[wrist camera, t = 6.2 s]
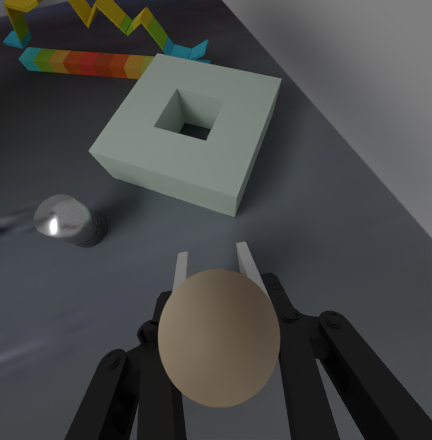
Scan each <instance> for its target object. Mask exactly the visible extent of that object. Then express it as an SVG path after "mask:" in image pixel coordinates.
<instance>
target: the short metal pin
mask: <svg viewBox="0 0 432 440" xmlns="http://www.w3.org/2000/svg"><path fill="white" fill-rule="evenodd" d="M34 225H35V227H36V229H37V230H38V231H39V232H40V233H42V234H45V235H48V236H51V237H54V238H57V239H60V240H62V241H65V242H68V243H71V244H74V245H77V246H80V247H84V248H88V247H92V246H95V245H97V244H98V243H99V242H101V241H102V239H103V238H104V237H105V235H106V232H107V222H106V220H105V219H104V218H103V217H102V216H100V215H99V214H97V213H96V212H94V211H93V210H91V209H90V208H88V207H87V206H85V205H83V204H82V203H80V202H79V201H77V200H76V199H74V198H73V197H71V196H69V195H65V194H59V195H55V196H52V197H50V198H48V199H47V200H45V201H44V202H43V203H42V204H41V205H40V206H39V207H38V209H37V211H36V213H35V216H34Z"/></svg>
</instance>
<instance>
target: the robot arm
mask: <svg viewBox="0 0 432 440" xmlns="http://www.w3.org/2000/svg"><path fill="white" fill-rule="evenodd" d="M236 246H237V254H238V262H239V270H240V273H241V274H242V275H245V276H246V277H248V278H249V279H251V280H252V281H254V282H255V283H256V284H257V285H258V286H259V287H260V288H261V289H262V290H263V291H264V293H265V294H266V295H267V296H268V298H269V300H270V301H271V303H272V305H273V307H274V310H275V312H276V315H277V318H278V323H279V328H280V350H279V356H278V358H279V363H280V369H281V376H282V382H283V389H284V395H285V402H286V408H287V415H288V421H289V427H290V434H291V440H340V438H339V435H338V431H337V428H336V425H335V422H334V418H333V415H332V412H331V409H330V405H329V402H328V399H327V396H326V392H325V389H324V386H323V383H322V379H321V376H320V373H319V370H318V366H317V363H316V360H315V358H316V359H319V360H320V362H321V364H322V365H323V367H324V369H325V371H326V372H327V374H328V376H329V378H330V379H331V381H332V383H333V385H334V386H335V388H336V390H337V392H338V393H339V395H340V397H341V399H342V400H343V402H344V404H345V406H346V407H347V409H348V411H349V413H350V414H351V416H352V418H353V420H354V421H355V423H356V425H357V427H358V428H359V430H360V432H361V434H362V436H363V437H364V439H365V440H432V420H431V419H430V418H429V417H428V415H427V414H426V413H425V412H424V411H423V409H422V408H421V407H420V406H419V405H418V403H417V402H416V401H415V400H414V399H413V397H412V396H411V395H410V394H409V393H408V392H407V390H406V389H405V388H404V387H403V386H402V384H401V383H400V382H399V381H398V380H397V378H396V377H395V376H394V375H393V374H392V372H391V371H390V370H389V369H388V368H387V367H386V365H385V364H384V363H383V362H382V361H381V359H380V358H379V357H378V356H377V355H376V353H375V352H374V351H373V350H372V349H371V347H370V346H369V345H368V344H367V343H366V342H365V340H364V339H363V338H362V337H361V336H360V334H359V333H358V332H357V331H356V330H355V328H354V327H353V326H352V325H351V324H350V322H349V321H348V320H347V319H346V318H345V317H344V316H343V315H341V314H339V313H337V312H334V311H325V312H322V313H321V314H320V316H319V317H315V316H307V315H304V314H301V313H300V312H299V311H297V310H296V309H294V307H293V306H292V304H291V302H290V300H289V298H288V296H287V295H286V293H285V291H284V289H283V287H282V285H281V284H280V282H279V280H278V278H277V277H276V276H275V275H274V274H272V273H268V274H262V275H260V274H259V272H258V270H257V267H256V265H255V263H254V260H253V258H252V256H251V253H250V251H249V249H248V246H247V244H246V242H240V243H236ZM191 276H193V271H192V267H191V263H190V259H189V255H188V252H182V253H178V259H177V265H176V272H175V278H174V285H173V291H168V292H162V293H161V294H160V296H159V297H158V299H157V303H156V307H155V312H154V315H153V320H149V321H147V322H145V323H144V324H143V325H142V326H141V327H140V328H139V330H138V333H137V336H138V339H139V341H140V343H141V345H139V346H138V347H136V348H134V349H132V350H130V351H128V352H126V353H125V351H124V350H122V349H116V350H112V351H111V352H109V353H108V354H106V355H105V356H104V357H103V358H102V360H101V362H100V363H99V365H98V367H97V369H96V372H95V374H94V376H93V378H92V380H91V383H90V385H89V387H88V389H87V391H86V394H85V396H84V398H83V400H82V402H81V405H80V407H79V409H78V411H77V413H76V415H75V418H74V420H73V422H72V424H71V426H70V429H69V431H68V433H67V435H66V437H65V440H129V438H130V434H131V430H132V426H133V422H134V418H135V414H136V410H137V406H138V402H139V409H138V429H137V440H187V439H186V430H185V421H184V412H183V403H182V394H181V392H180V391H179V389H178V388H177V387H176V386H175V385H174V384H173V382H172V381H171V379H170V378H169V377H168V375H167V373H166V371H165V369H164V366H163V363H162V361H161V357H160V353H159V346H158V329H159V322H160V318H161V314H162V312H163V309H164V306H165V304H166V302H167V300H168V299H169V297H170V296H171V294H172V293H173V292H174V290H175V289H176V288H177V287H178V286H179V285H180V284H181V283H182V282H183V281H185V280H186V279H188V278H189V277H191Z"/></svg>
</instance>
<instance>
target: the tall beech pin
mask: <svg viewBox="0 0 432 440" xmlns="http://www.w3.org/2000/svg"><path fill="white" fill-rule="evenodd" d="M158 346H159V353H160V357H161V361H162V363H163V366H164V369H165V371H166V373H167V375H168V377H169V378H170V379H171V381H172V382H173V384H174V385H175V386H176V387H177V388H178V389H179V391H180V392H182V393H183V394H184V395H185V396H187V397H188V398H190V399H191V400H193V401H195V402H197V403H199V404H202V405H205V406H210V407H219V408H222V407H231V406H234V405H238V404H240V403H242V402H245V401H247V400H248V399H250V398H251V397H253V396H254V395H255V394H257V393H258V392H259V391H260V390H261V389H262V388H263V386H264V385H265V384H266V383H267V381H268V380H269V378H270V376H271V375H272V373H273V370H274V368H275V366H276V363H277V359H278V356H279V350H280V328H279V323H278V318H277V315H276V312H275V310H274V307H273V305H272V303H271V301H270V300H269V298H268V296H267V295H266V294H265V293H264V291H263V290H262V289H261V288H260V287H259V286H258V285H257V284H256V283H255V282H254V281H252V280H251V279H249V278H248V277H246V276H245V275H242V274H240V273H238V272H235V271H231V270H226V269H211V270H206V271H202V272H199V273H197V274H195V275H193V276H191V277H189V278H188V279H186V280H185V281H183V282H182V283H181V284H180V285H179V286H178V287H177V288H176V289H175V290H174V292H173V293H172V294H171V296H170V297H169V299H168V300H167V302H166V304H165V306H164V309H163V312H162V314H161V318H160V322H159V329H158Z"/></svg>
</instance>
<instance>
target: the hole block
mask: <svg viewBox="0 0 432 440" xmlns="http://www.w3.org/2000/svg"><path fill="white" fill-rule="evenodd" d="M281 80H282V79H281V78H276V77H271V76H266V75H261V74H257V73H252V72H247V71H242V70H237V69H232V68H227V67H222V66H217V65H212V64H208V63H203V62H198V61H193V60H188V59H183V58H178V57H173V56H168V55H164V54H159V53H157V55H156V56H155V57H154V59H153V60H152V62H151V63H150V64H149V66H148V67H147V69H146V70H145V72H144V73H143V74H142V76H141V77H140V79H139V80H138V81H137V83H136V84H135V86H134V87H133V89H132V90H131V91H130V93H129V94H128V96H127V97H126V99H125V100H124V101H123V103H122V104H121V106H120V107H119V108H118V110H117V111H116V113H115V114H114V116H113V117H112V118H111V120H110V121H109V123H108V124H107V125H106V127H105V128H104V130H103V131H102V133H101V134H100V135H99V137H98V138H97V140H96V141H95V142H94V144H93V145H92V147H91V148H90V150H89V152H90V153H91V154H92V155H93V156H94V157H95V158H96V160H97V161H98V162H99V163H100V164H101V165H102V166H103V167H104V168H105V169H106V170H107V171H108V172H109V173H110V174H111V175H112V177H113V178H116V179H119V180H122V181H125V182H128V183H131V184H134V185H138V186H141V187H144V188H147V189H150V190H153V191H156V192H159V193H162V194H165V195H168V196H171V197H174V198H177V199H180V200H183V201H186V202H189V203H192V204H195V205H198V206H201V207H204V208H207V209H210V210H213V211H217V212H220V213H223V214H226V215H229V216H232V217H235V216H236V213H237V210H238V207H239V205H240V202H241V199H242V197H243V194H244V191H245V188H246V186H247V183H248V180H249V178H250V175H251V172H252V169H253V167H254V164H255V161H256V159H257V156H258V153H259V150H260V148H261V145H262V142H263V139H264V137H265V134H266V131H267V129H268V126H269V123H270V120H271V118H272V115H273V111H274V107H275V103H276V99H277V95H278V92H279V88H280V84H281ZM184 123H188V124H192V125H196V126H199V127H203V128H207V129H211V131H210V133H209V135H208V138H207V140H206V141H204V140H201V139H197V138H193V137H190V136H186V135H182V134H179V133H180V131H181V129H182V127H183V125H184Z"/></svg>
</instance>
